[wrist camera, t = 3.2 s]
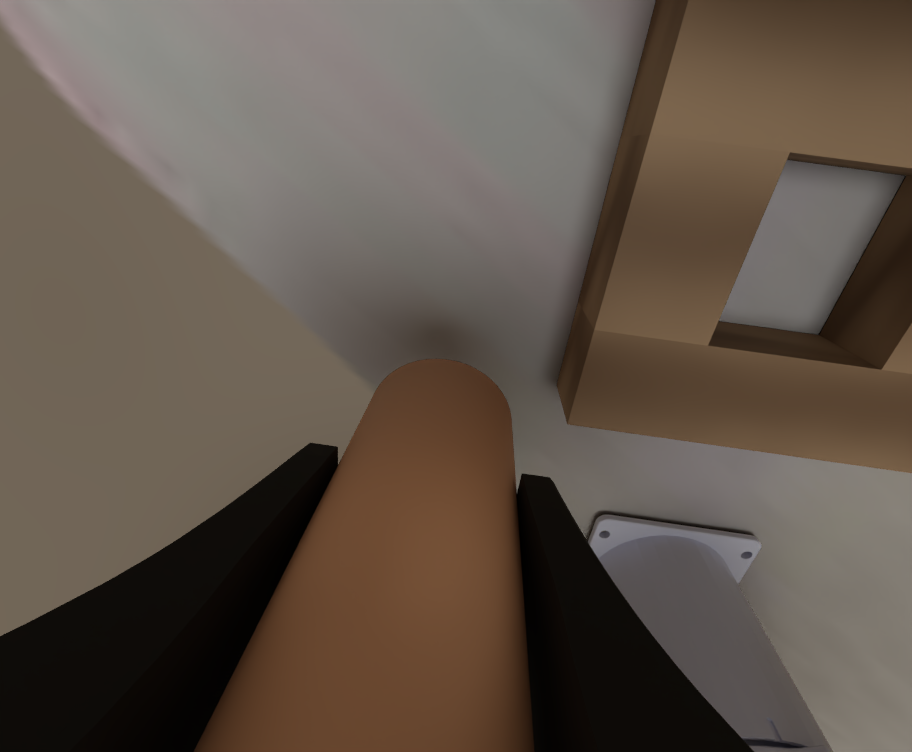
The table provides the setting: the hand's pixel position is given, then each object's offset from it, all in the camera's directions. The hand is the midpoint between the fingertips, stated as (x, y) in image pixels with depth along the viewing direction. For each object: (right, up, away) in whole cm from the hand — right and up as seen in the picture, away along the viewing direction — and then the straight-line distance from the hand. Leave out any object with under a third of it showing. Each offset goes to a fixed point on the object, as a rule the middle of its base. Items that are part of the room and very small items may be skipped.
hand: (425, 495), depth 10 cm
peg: (0, +1, +2) cm, 3 cm away
